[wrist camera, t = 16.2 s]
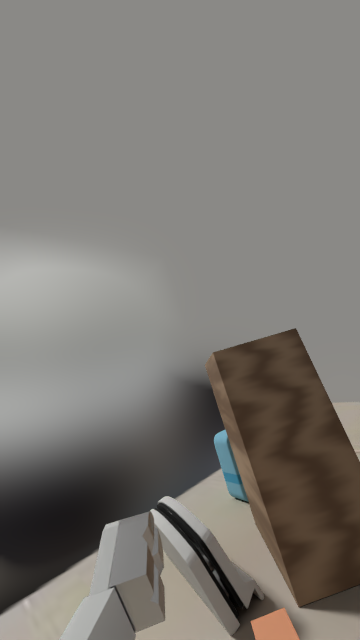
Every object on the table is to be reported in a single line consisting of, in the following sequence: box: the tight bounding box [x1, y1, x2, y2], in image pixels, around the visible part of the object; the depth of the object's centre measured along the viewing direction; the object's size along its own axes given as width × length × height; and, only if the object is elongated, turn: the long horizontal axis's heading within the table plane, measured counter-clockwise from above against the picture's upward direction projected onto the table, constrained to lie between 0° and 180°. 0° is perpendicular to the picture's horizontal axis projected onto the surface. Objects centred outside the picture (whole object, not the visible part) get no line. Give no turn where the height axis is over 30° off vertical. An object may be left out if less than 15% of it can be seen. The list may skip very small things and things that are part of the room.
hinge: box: [151, 496, 265, 636], centre depth 29 cm, size 17×5×10 cm, turn 26°
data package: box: [214, 430, 249, 502], centre depth 47 cm, size 12×4×12 cm, turn 120°
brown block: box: [205, 329, 360, 607], centre depth 32 cm, size 12×14×26 cm
